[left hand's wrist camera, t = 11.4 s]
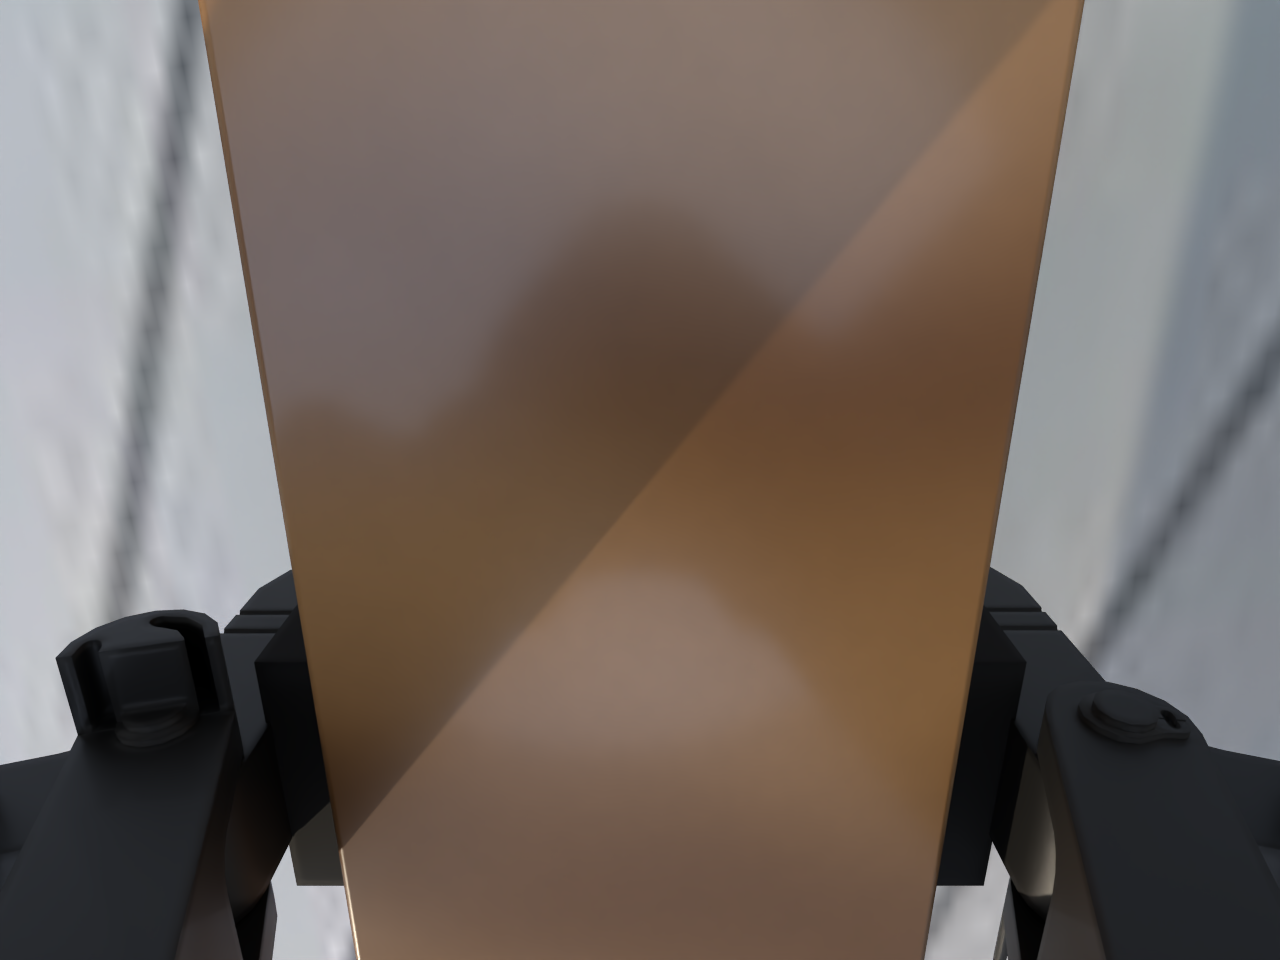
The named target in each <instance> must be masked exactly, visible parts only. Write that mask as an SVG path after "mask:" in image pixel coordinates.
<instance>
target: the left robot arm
mask: <svg viewBox="0 0 1280 960" xmlns="http://www.w3.org/2000/svg"><path fill="white" fill-rule="evenodd" d="M56 661H57V665H58V668H59V672H60V675H61V678H62V682H63V685H64V689H65V692H66V696H67V699H68V703H69V706H70V709H71V713H72V716H73V720H74V723H75V727H76V730H77V733H78V736H77V738H76V740H75V742H74V744H73V746H72V748H71V750H70V751H67V752H63V753H59V754H55V755H50V756H45V757H39V758H34V759H29V760H24V761H19V762H14V763H9V764H4V765H0V960H272V956H273V948H274V939H275V931H276V923H277V911H276V905H275V898H274V893H273V888H272V884H271V879H272V877H273V875H274V873H275V871H276V869H277V867H278V865H279V863H280V861H281V859H282V857H283V855H284V853H285V851H286V849H287V847H288V845H289V847H290V852H291V857H292V862H293V867H294V873H295V878H296V883H297V886H344V881H343V875H342V869H341V863H340V857H339V851H338V845H337V839H336V833H335V827H334V821H333V815H332V809H331V803H330V796H329V790H328V784H327V778H326V772H325V766H324V760H323V754H322V748H321V742H320V736H319V730H318V724H317V718H316V712H315V706H314V699H313V693H312V687H311V681H310V675H309V669H308V663H307V657H306V651H305V645H304V639H303V633H302V627H301V621H300V615H299V609H298V602H297V596H296V590H295V584H294V578H293V572H292V570H290V571H288V572H286V573H285V574H283V575H281V576H279V577H278V578H276V579H274V580H273V581H271V582H269V583H268V584H266V585H264V586H263V587H261V588H259V589H258V590H257V591H256V593H255V594H254V595H253V596H252V597H251V598H250V599H249V601H248V602H247V603H246V604H245V605H244V606H243V608H242V609H241V610H240V615H236V616H235V617H234V618H233V619H232V620H231V622H230V623H229V624H228V625H227V626H226V627H225V628H224V633H220V632H219V627H218V623H217V622H216V621H215V620H213V619H212V618H210V617H209V616H208V615H206V614H204V613H199V612H194V611H188V610H162V611H152V612H147V613H143V614H138V615H133V616H128V617H124V618H121V619H119V620H116V621H113V622H111V623H108V624H105V625H102V626H100V627H97V628H95V629H93V630H91V631H90V632H88V633H86V634H84V635H83V636H81V637H79V638H77V639H76V640H74V641H72V642H71V643H70V644H69V645H68V646H67V647H66V648H65V649H64V650H63V651H62V652H61V653H60V654H59V655H58V656H57V657H56ZM992 842H993V844H994V846H995V848H996V850H997V851H998V853H999V855H1000V857H1001V859H1002V861H1003V863H1004V865H1005V867H1006V869H1007V871H1008V873H1009V875H1010V879H1009V884H1008V888H1007V893H1006V898H1005V903H1004V908H1003V913H1002V918H1001V922H1000V927H999V932H998V937H997V942H996V947H995V951H994V957H993V960H1006V958H1007V956H1008V960H1280V761H1276V760H1271V759H1266V758H1261V757H1256V756H1251V755H1245V754H1240V753H1235V752H1230V751H1225V750H1221V749H1217V748H1213V747H1209V746H1208V745H1207V743H1206V741H1205V739H1204V737H1203V735H1202V733H1201V732H1200V731H1199V730H1198V728H1197V727H1196V726H1195V725H1194V723H1193V722H1192V721H1191V720H1190V719H1189V717H1188V716H1186V715H1185V714H1183V713H1182V712H1180V711H1179V710H1177V709H1176V708H1174V707H1173V706H1172V705H1170V704H1169V703H1167V702H1166V701H1164V700H1161V699H1159V698H1157V697H1155V696H1152V695H1150V694H1148V693H1145V692H1143V691H1141V690H1138V689H1135V688H1131V687H1127V686H1123V685H1119V684H1114V683H1110V682H1106V681H1105V680H1104V679H1103V678H1102V677H1101V676H1100V674H1099V673H1098V672H1097V671H1096V670H1095V669H1094V668H1093V666H1092V665H1091V664H1090V663H1089V662H1088V661H1087V660H1086V658H1085V657H1084V656H1083V655H1082V654H1081V653H1080V651H1079V650H1078V649H1077V648H1076V647H1075V646H1074V645H1073V643H1072V642H1071V641H1070V640H1069V639H1068V638H1067V637H1066V635H1065V634H1064V633H1063V632H1062V631H1061V630H1057V625H1056V624H1055V623H1054V622H1053V620H1052V619H1051V618H1050V617H1049V616H1048V615H1047V614H1046V612H1042V611H1041V607H1040V605H1039V604H1038V603H1037V602H1036V601H1035V600H1034V599H1033V597H1032V596H1031V595H1030V594H1029V593H1028V592H1027V591H1026V589H1025V588H1024V587H1023V586H1022V585H1020V584H1018V583H1017V582H1015V581H1013V580H1012V579H1010V578H1008V577H1007V576H1005V575H1003V574H1001V573H1000V572H998V571H996V570H995V569H993V568H991V567H990V568H989V574H988V580H987V586H986V592H985V598H984V604H983V610H982V616H981V622H980V628H979V634H978V640H977V646H976V652H975V658H974V664H973V670H972V676H971V682H970V688H969V694H968V700H967V706H966V712H965V718H964V724H963V730H962V736H961V742H960V748H959V754H958V760H957V766H956V772H955V778H954V784H953V790H952V796H951V802H950V808H949V813H948V819H947V825H946V831H945V837H944V843H943V849H942V855H941V861H940V867H939V873H938V879H937V885H936V886H984V881H985V876H986V871H987V866H988V860H989V855H990V850H991V845H992Z"/></svg>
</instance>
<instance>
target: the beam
mask: <svg viewBox="0 0 1280 960" xmlns="http://www.w3.org/2000/svg"><path fill="white" fill-rule="evenodd" d="M198 2H199V8H200V14H201V20H202V26H203V32H204V38H205V45H206V51H207V57H208V63H209V69H210V75H211V81H212V87H213V93H214V99H215V105H216V111H217V117H218V123H219V129H220V135H221V142H222V148H223V154H224V160H225V166H226V172H227V178H228V184H229V190H230V196H231V202H232V208H233V214H234V220H235V226H236V233H237V239H238V245H239V251H240V257H241V263H242V269H243V275H244V281H245V287H246V293H247V299H248V305H249V311H250V317H251V323H252V330H253V336H254V342H255V348H256V354H257V360H258V366H259V372H260V378H261V384H262V390H263V396H264V402H265V408H266V414H267V421H268V427H269V433H270V439H271V445H272V451H273V457H274V463H275V469H276V475H277V481H278V487H279V493H280V499H281V505H282V511H283V518H284V524H285V530H286V536H287V542H288V548H289V554H290V560H291V566H292V572H293V578H294V584H295V590H296V596H297V602H298V609H299V615H300V621H301V627H302V633H303V639H304V645H305V651H306V657H307V663H308V669H309V675H310V681H311V687H312V693H313V699H314V706H315V712H316V718H317V724H318V730H319V736H320V742H321V748H322V754H323V760H324V766H325V772H326V778H327V784H328V790H329V796H330V803H331V809H332V815H333V821H334V827H335V833H336V839H337V845H338V851H339V857H340V863H341V869H342V875H343V881H344V887H345V894H346V900H347V906H348V912H349V918H350V924H351V930H352V936H353V942H354V948H355V954H356V960H924V957H925V951H926V945H927V939H928V933H929V927H930V921H931V915H932V909H933V903H934V897H935V891H936V885H937V879H938V873H939V867H940V861H941V855H942V849H943V843H944V837H945V831H946V825H947V819H948V813H949V808H950V802H951V796H952V790H953V784H954V778H955V772H956V766H957V760H958V754H959V748H960V742H961V736H962V730H963V724H964V718H965V712H966V706H967V700H968V694H969V688H970V682H971V676H972V670H973V664H974V658H975V652H976V646H977V640H978V634H979V628H980V622H981V616H982V610H983V604H984V598H985V592H986V586H987V580H988V574H989V568H990V562H991V556H992V550H993V544H994V538H995V532H996V526H997V521H998V515H999V509H1000V503H1001V497H1002V491H1003V485H1004V479H1005V473H1006V467H1007V461H1008V455H1009V449H1010V443H1011V437H1012V431H1013V425H1014V419H1015V413H1016V407H1017V401H1018V395H1019V389H1020V383H1021V377H1022V371H1023V365H1024V359H1025V353H1026V347H1027V341H1028V335H1029V329H1030V323H1031V317H1032V311H1033V305H1034V299H1035V293H1036V287H1037V281H1038V275H1039V269H1040V263H1041V257H1042V251H1043V245H1044V239H1045V234H1046V228H1047V222H1048V216H1049V210H1050V204H1051V198H1052V192H1053V186H1054V180H1055V174H1056V168H1057V162H1058V156H1059V150H1060V144H1061V138H1062V132H1063V126H1064V120H1065V114H1066V108H1067V102H1068V96H1069V90H1070V84H1071V78H1072V72H1073V66H1074V60H1075V54H1076V48H1077V42H1078V36H1079V30H1080V24H1081V18H1082V12H1083V6H1084V0H198Z"/></svg>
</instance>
